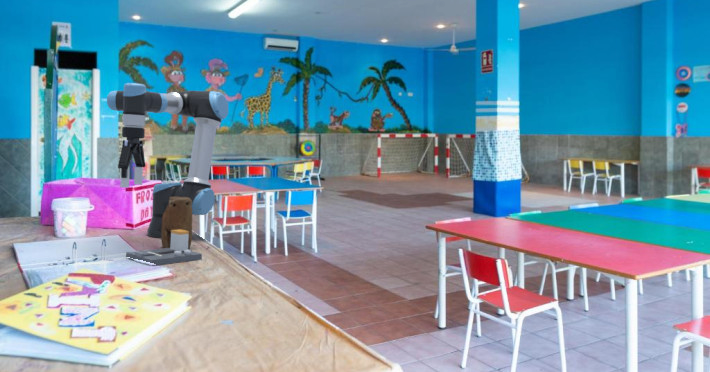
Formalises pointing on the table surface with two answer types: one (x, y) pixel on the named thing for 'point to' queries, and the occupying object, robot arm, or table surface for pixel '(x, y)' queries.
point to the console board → (164, 256)
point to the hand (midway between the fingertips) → (131, 186)
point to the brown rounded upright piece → (176, 219)
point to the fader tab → (179, 240)
